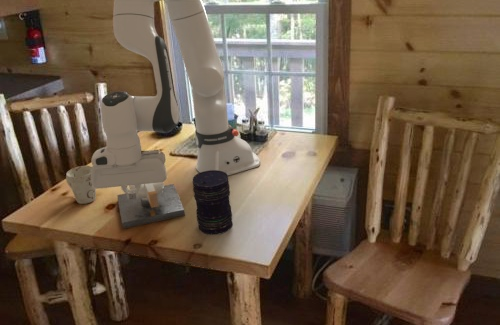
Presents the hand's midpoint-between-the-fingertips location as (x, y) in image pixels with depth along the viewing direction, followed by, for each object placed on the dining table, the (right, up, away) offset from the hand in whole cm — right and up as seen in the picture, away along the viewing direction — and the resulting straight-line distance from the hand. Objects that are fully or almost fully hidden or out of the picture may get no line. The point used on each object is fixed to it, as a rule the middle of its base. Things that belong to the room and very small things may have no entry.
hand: (133, 197), depth 140 cm
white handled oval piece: (+3, 0, +6) cm, 7 cm away
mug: (-21, -2, +21) cm, 30 cm away
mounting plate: (+2, -4, +12) cm, 13 cm away
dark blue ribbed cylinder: (+23, -8, +1) cm, 24 cm away
